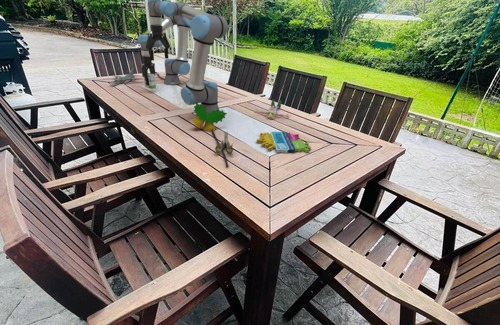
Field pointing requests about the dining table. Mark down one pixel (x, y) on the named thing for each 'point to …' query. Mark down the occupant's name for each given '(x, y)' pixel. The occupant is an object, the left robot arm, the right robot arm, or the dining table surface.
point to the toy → (272, 110)
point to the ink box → (150, 81)
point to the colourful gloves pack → (283, 142)
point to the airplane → (124, 78)
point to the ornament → (207, 117)
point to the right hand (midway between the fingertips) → (159, 59)
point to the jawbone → (224, 145)
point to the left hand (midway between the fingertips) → (150, 84)
